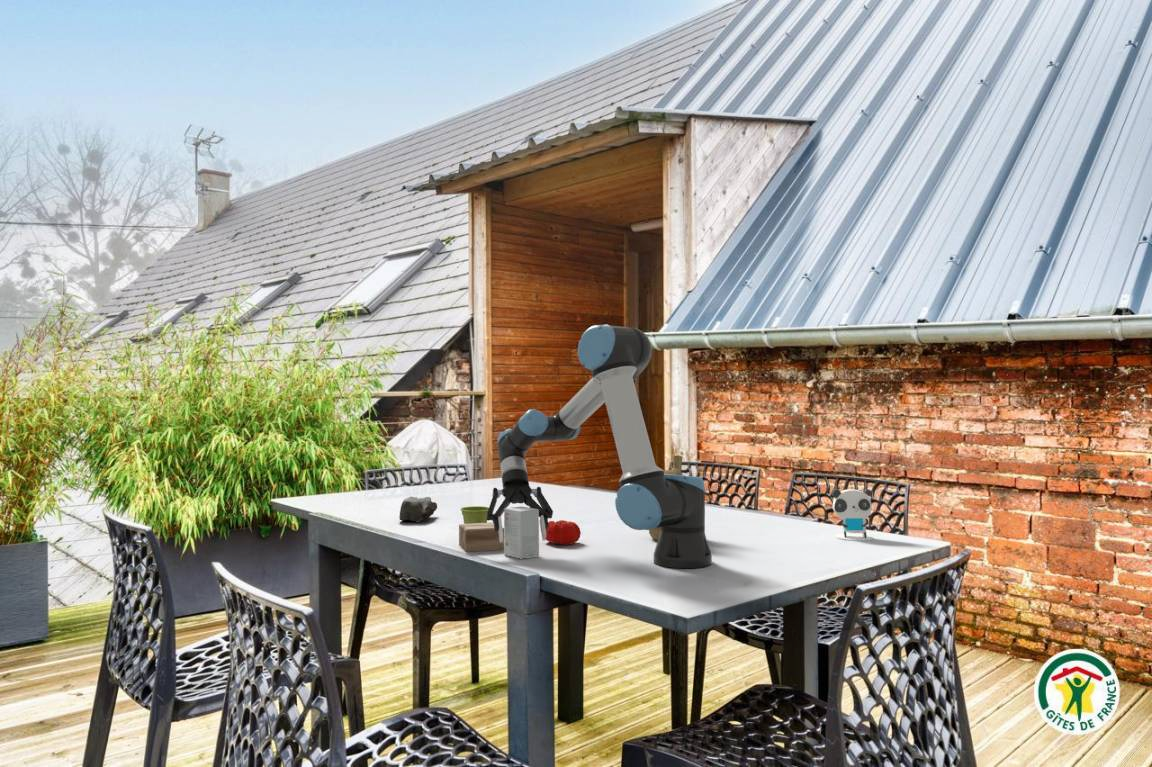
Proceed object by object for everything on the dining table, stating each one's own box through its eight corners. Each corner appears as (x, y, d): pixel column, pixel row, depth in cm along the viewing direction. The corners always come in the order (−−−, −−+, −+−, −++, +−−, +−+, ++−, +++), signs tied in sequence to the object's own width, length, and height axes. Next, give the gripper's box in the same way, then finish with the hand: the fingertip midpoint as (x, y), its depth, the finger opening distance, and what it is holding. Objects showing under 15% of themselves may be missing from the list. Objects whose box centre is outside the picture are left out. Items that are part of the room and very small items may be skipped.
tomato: (560, 539, 250) (560, 517, 250) (586, 543, 242) (586, 521, 243) (536, 543, 243) (536, 521, 244) (562, 548, 236) (562, 525, 236)
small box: (539, 556, 223) (539, 509, 223) (520, 559, 219) (520, 511, 219) (522, 552, 229) (522, 505, 229) (503, 555, 225) (503, 507, 225)
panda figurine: (835, 540, 247) (834, 490, 248) (829, 534, 258) (829, 486, 259) (876, 541, 245) (876, 491, 246) (869, 535, 257) (868, 487, 257)
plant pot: (496, 535, 257) (496, 507, 257) (477, 539, 249) (477, 511, 249) (473, 532, 262) (473, 505, 262) (454, 537, 254) (454, 509, 254)
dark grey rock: (430, 524, 279) (430, 501, 279) (397, 524, 279) (397, 501, 279) (438, 516, 297) (438, 494, 297) (407, 516, 297) (407, 494, 297)
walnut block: (504, 549, 233) (504, 527, 233) (465, 551, 230) (465, 529, 230) (495, 542, 243) (495, 522, 244) (459, 545, 240) (459, 523, 240)
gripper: (552, 482, 242) (563, 544, 226) (472, 485, 236) (478, 548, 221) (556, 466, 237) (567, 528, 221) (474, 468, 231) (480, 532, 216)
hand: (523, 538), depth 221 cm, fingers open, 11 cm apart
